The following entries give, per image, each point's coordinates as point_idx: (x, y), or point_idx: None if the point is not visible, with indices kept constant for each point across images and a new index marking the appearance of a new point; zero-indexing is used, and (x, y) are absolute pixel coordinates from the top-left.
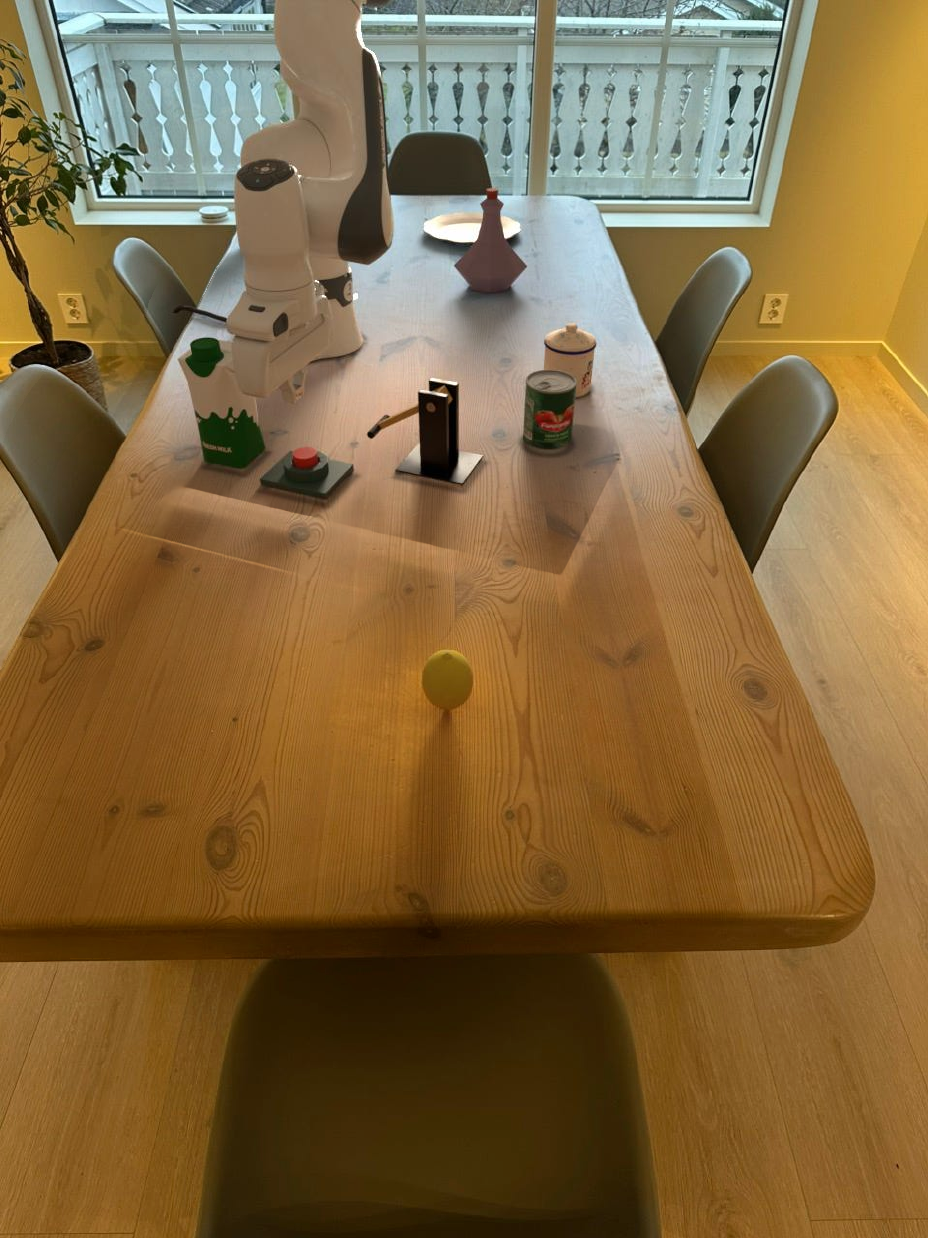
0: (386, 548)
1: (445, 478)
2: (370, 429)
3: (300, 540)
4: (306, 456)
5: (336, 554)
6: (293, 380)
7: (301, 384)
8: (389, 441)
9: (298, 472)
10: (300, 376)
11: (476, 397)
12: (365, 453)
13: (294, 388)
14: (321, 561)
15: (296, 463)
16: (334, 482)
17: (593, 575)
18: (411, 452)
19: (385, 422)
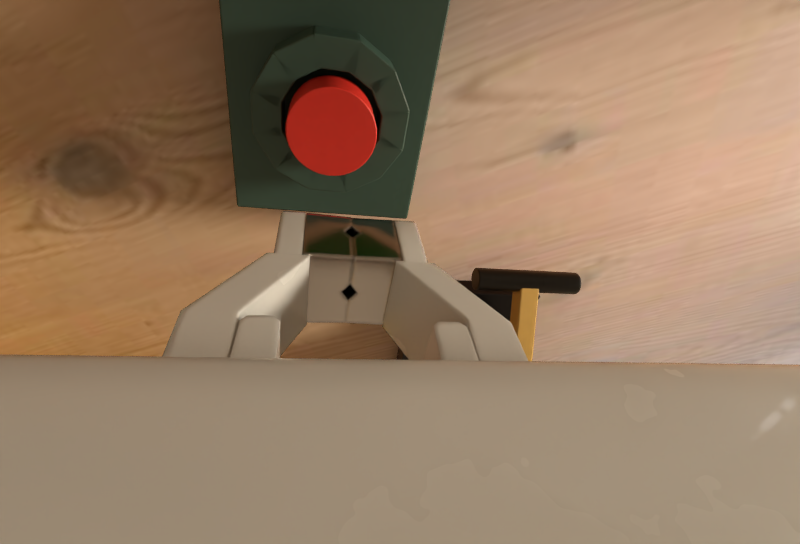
0: (164, 338)
1: None
2: (496, 278)
3: (66, 182)
4: (309, 151)
5: (79, 273)
6: (407, 290)
7: (386, 328)
8: (573, 219)
9: (252, 127)
10: (418, 353)
11: (739, 310)
12: (515, 186)
13: (291, 339)
14: (31, 256)
15: (289, 107)
16: (300, 208)
17: None
18: (494, 297)
19: (516, 315)
